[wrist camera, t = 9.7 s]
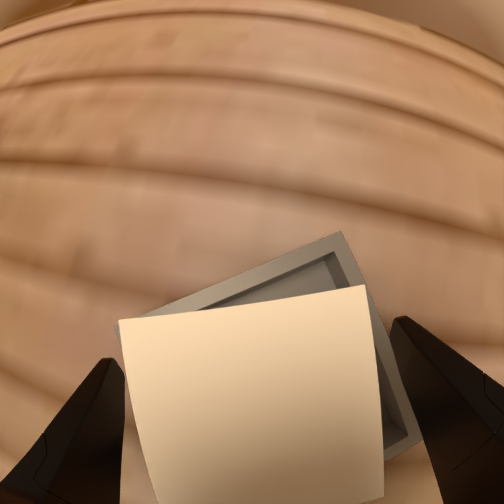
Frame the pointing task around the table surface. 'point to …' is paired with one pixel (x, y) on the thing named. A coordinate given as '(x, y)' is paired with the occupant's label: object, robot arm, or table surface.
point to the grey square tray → (309, 282)
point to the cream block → (259, 401)
